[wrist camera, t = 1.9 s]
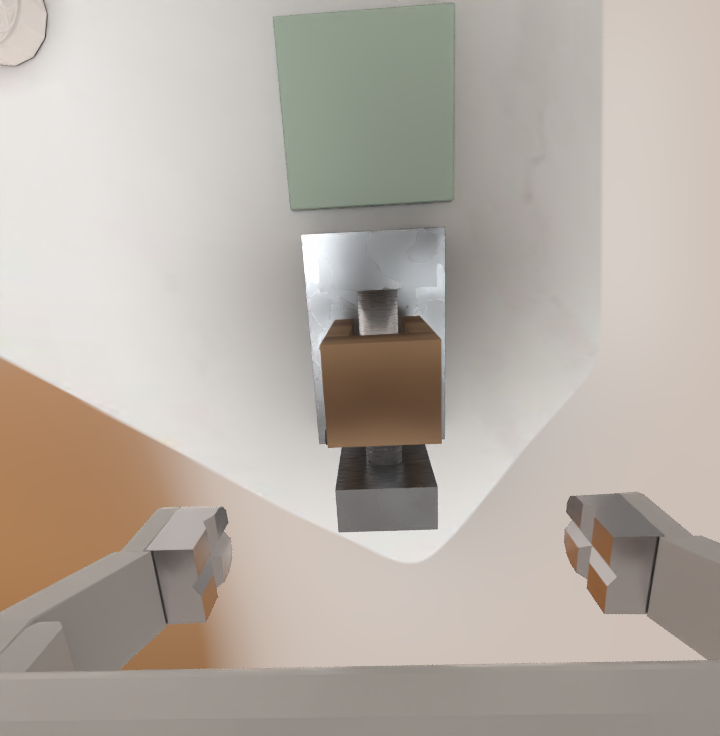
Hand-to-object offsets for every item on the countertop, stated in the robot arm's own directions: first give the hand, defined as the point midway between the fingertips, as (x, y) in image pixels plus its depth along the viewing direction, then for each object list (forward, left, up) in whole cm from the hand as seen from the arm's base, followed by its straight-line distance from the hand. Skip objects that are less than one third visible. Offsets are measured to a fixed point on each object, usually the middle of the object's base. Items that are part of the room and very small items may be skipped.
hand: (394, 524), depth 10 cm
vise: (0, 0, -24) cm, 24 cm away
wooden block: (0, 0, -17) cm, 17 cm away
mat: (-16, 0, -24) cm, 29 cm away
